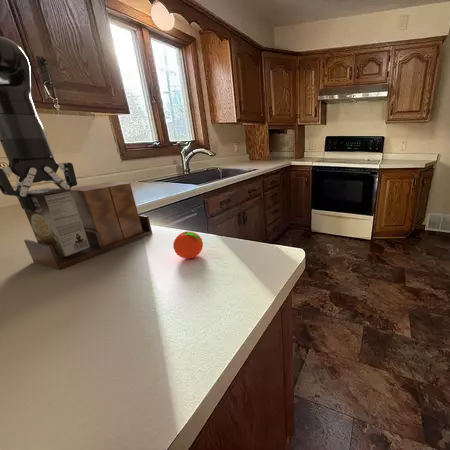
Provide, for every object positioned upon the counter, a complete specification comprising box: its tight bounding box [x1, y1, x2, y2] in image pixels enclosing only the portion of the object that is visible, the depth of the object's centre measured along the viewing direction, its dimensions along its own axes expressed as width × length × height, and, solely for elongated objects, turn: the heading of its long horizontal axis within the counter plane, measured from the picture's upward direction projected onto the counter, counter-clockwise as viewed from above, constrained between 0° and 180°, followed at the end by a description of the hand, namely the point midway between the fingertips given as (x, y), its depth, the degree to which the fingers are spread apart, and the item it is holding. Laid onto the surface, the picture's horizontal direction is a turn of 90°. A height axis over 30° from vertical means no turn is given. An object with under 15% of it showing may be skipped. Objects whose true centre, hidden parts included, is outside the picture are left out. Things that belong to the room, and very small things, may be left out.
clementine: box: [172, 230, 204, 259], centre depth 62 cm, size 8×7×7 cm
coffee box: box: [24, 187, 90, 256], centre depth 62 cm, size 9×6×16 cm
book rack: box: [23, 181, 153, 271], centre depth 69 cm, size 25×12×17 cm, turn 157°
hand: (50, 207), depth 61 cm, fingers closed on coffee box, 6 cm apart
